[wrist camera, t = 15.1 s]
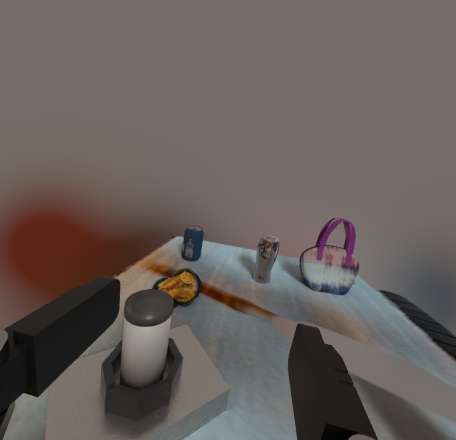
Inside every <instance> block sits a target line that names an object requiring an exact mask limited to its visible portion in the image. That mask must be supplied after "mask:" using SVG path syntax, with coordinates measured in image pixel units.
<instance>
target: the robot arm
mask: <svg viewBox="0 0 456 440" xmlns="http://www.w3.org/2000/svg"><path fill="white" fill-rule="evenodd" d="M119 304H120V281H119V280H118V279H114V278H110V277H106V276H100V277H98V278H96V279H95V280H93V281H92V282H90V283H88V284H85V285H82V286H79V287H77V288H74V289H71V290H70V291H68V292H66V293H65V294H63V295H61V296H60V298H56V299H54V300H53V301H51V302H50V303H49V304H46V305H44V306H43V307H41V308H39V309H38V310H36V311H34V312H32V313H31V314H29V315H27V316H26V317H24V318H22V319H21V320H19V321H17V322H16V323H14V324H12V325H11V326H9V327H7V328H6V329H4V330H3V329H0V440H2V439H3V437H4V434H5V432H6V429H7V426H8V424H9V421H10V419H11V416H12V413H13V411H14V407H15V400H16V399H17V398H18V397H19V396H21V395H22V394H23V393H26V394H29V395H32V396H35V397H39V396H40V395H41V394H42V393H43V392H44V391H45V390H46V389H47V388H48V387H49V386H50V385H51V384H52V383H53V382H54V381H55V380H56V379H57V378H58V377H59V376H60V375H61V374H62V373H63V372H64V371H65V370H66V369H67V368H68V367H69V366H70V365H71V364H72V363H73V362H74V361H75V360H76V359H77V358H78V357H79V356H80V355H81V354H82V353H83V352H84V351H85V350H86V349H87V348H88V347H89V346H90V345H91V344H92V343H93V342H94V341H95V340H96V339H97V338H98V337H99V336H100V335H101V334H103V333H104V332H105V331H106V330H107V329H108V328H109V327H110V326H111V325H112V324H113V322H114V321H115V319H116V318H117V315H118V313H119ZM288 373H289V381H290V388H291V396H292V403H293V411H294V418H295V426H296V433H297V440H378V439H377V436H376V434H375V432H374V429H373V427H372V425H371V423H370V420H369V418H368V416H367V414H366V411H365V409H364V407H363V404H362V402H361V400H360V398H359V395H358V393H357V391H356V389H355V387H354V386H353V382H352V379H351V377H350V375H348V370H347V368H346V366H345V364H344V361H343V359H342V357H341V356H340V355H339V354H338V353H337V351H336V350H335V349H334V348H333V347H332V345H328V344H324V341H323V339H322V336H321V333H320V331H319V329H318V328H316V327H312V326H308V325H304V324H300V323H299V324H298V325H297V327H296V331H295V334H294V338H293V342H292V345H291V349H290V353H289V359H288Z"/></svg>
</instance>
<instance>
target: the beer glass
mask: <svg viewBox="0 0 456 440" xmlns="http://www.w3.org/2000/svg"><path fill="white" fill-rule="evenodd" d="M279 245H280V239H278V238H276V237H273V236H269V235H261V237H260V240H259V243H258V248H257V255H256V269H255V272H254V274H253V279H254V280H255V281H257V282H259V283H263V284H267V283H269V282H270V275H271V270H272V268H273V265H274V263H275V261H276V258H277V255H278V251H279Z"/></svg>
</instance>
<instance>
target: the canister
mask: <svg viewBox="0 0 456 440" xmlns="http://www.w3.org/2000/svg"><path fill="white" fill-rule="evenodd" d="M173 304H174V300H173V298H172V296H171V295H170V294H168V293H167V292H164V291H161V290H156V289H148V290H142V291H138V292H136V293H134V294H132V295H131V296H129V297H128V298H127V300H126V302H125V308H124V328H123V341H122V355H121V368H120V382H119V385H123V386H126V387H129V388H132V389H136V390H139V391H140V390H142V389H145V388H147V387H149V386H151V385H153V384H155V383H157V382H159V381H162V380H163V379H164V371H165V363H166V356H167V348H168V340H169V332H170V325H171V317H172V312H173Z"/></svg>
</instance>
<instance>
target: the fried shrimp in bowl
mask: <svg viewBox="0 0 456 440" xmlns="http://www.w3.org/2000/svg"><path fill="white" fill-rule="evenodd" d="M201 288H202V283H201V281H200V279H199V277H198V275H197V274H195V273H194V272H193V271H192V270H190V269H187V268H183V269H180V270H178V271H176V272H175V274H174V275H173V276H172V278H161V279H159V280H158V281H157V282H156V283H155V284H154V285H153V288H152V289H156V290H161V291H164V292H167V293H168V294H170V295H171V296H172V298H173V300H174V304H173V309H174V308H175V307H177V306H178V305H180V306H186V305H189V304H190V303H192V302H193V301H194V300H195V299H196V298H197V297H198V295H199V292H200V290H201ZM124 308H125V307H124Z"/></svg>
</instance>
